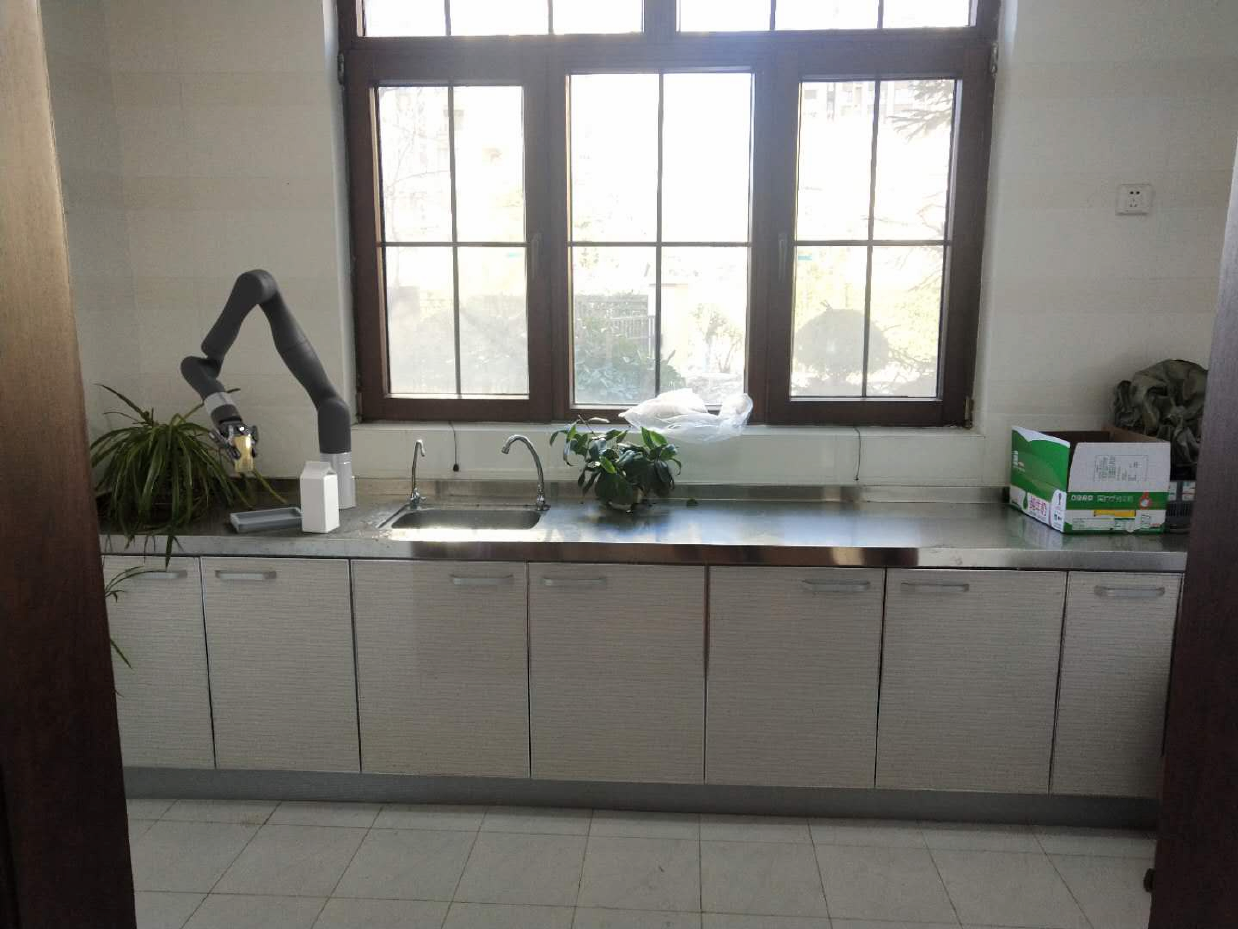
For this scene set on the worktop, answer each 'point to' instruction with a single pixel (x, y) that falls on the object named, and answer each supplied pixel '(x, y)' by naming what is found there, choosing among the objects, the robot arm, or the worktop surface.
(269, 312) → the robot arm
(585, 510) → the worktop surface
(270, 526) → the tray
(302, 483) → the milk carton
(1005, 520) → the worktop surface
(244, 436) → the brass bushing
